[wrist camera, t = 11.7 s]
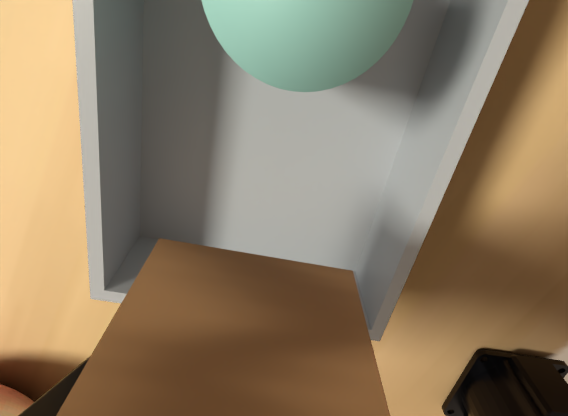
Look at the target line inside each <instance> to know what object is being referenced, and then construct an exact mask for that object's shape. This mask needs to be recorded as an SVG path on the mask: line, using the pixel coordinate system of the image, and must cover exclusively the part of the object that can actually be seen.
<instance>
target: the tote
mask: <svg viewBox="0 0 568 416" xmlns="http://www.w3.org/2000/svg"><path fill="white" fill-rule="evenodd" d="M72 1H73V17H74V34H75V50H76V67H77V83H78V99H79V116H80V132H81V149H82V165H83V182H84V198H85V215H86V231H87V248H88V264H89V280H90V297H91V299H95V300H102V301H108V302H115V303H122V301H123V300H124V298H125V296H126V295H127V293H128V291H129V289H130V288H131V286H132V284H133V282H134V281H135V279H136V277H137V276H138V274H139V272H140V270H141V269H142V267H143V265H144V263H145V262H146V260H147V258H148V257H149V255H150V253H151V251H152V250H153V248H154V246H155V245H156V243H157V241H158V239H159V238H161V239H167V240H173V241H179V242H185V243H191V244H197V245H203V246H209V247H215V248H221V249H227V250H233V251H239V252H245V253H251V254H257V255H263V256H269V257H275V258H280V259H286V260H292V261H298V262H304V263H310V264H316V265H322V266H328V267H334V268H340V269H346V270H352V271H353V273H354V277H355V281H356V285H357V289H358V293H359V297H360V301H361V305H362V308H363V312H364V316H365V320H366V324H367V328H368V332H369V336H370V340H375V341H380V340H381V337H382V335H383V333H384V330H385V328H386V326H387V324H388V321H389V319H390V317H391V314H392V312H393V310H394V308H395V305H396V303H397V301H398V298H399V296H400V294H401V292H402V289H403V287H404V285H405V282H406V280H407V278H408V276H409V273H410V271H411V269H412V266H413V264H414V262H415V260H416V257H417V255H418V253H419V250H420V248H421V246H422V244H423V241H424V239H425V237H426V234H427V232H428V230H429V228H430V225H431V223H432V221H433V218H434V216H435V214H436V212H437V209H438V207H439V205H440V202H441V200H442V198H443V196H444V193H445V191H446V189H447V186H448V184H449V182H450V180H451V177H452V175H453V173H454V170H455V168H456V166H457V164H458V161H459V159H460V157H461V154H462V152H463V150H464V148H465V145H466V143H467V141H468V138H469V136H470V134H471V132H472V129H473V127H474V125H475V123H476V120H477V118H478V116H479V113H480V111H481V109H482V107H483V104H484V102H485V100H486V97H487V95H488V93H489V91H490V88H491V86H492V84H493V81H494V79H495V77H496V75H497V72H498V70H499V68H500V65H501V63H502V61H503V59H504V56H505V54H506V52H507V49H508V47H509V45H510V43H511V40H512V38H513V36H514V33H515V31H516V29H517V27H518V24H519V22H520V20H521V17H522V15H523V13H524V11H525V8H526V6H527V4H528V1H529V0H413V3H412V6H411V10H410V12H409V15H408V17H407V19H406V21H405V24H404V26H403V28H402V29H401V31H400V33H399V35H398V36H397V38H396V40H395V41H394V42H393V44H392V45H391V46H390V48H389V49H388V51H387V52H386V53H385V54H384V55H383V56H382V57H381V58H380V59H379V60H378V61H377V62H376V63H375V64H374V65H373V66H372V67H370V68H369V69H368V70H367V71H366V72H364V73H363V74H361V75H360V76H358V77H357V78H355V79H353V80H351V81H349V82H347V83H345V84H343V85H340V86H337V87H334V88H331V89H327V90H322V91H316V92H294V91H288V90H283V89H279V88H276V87H273V86H271V85H268V84H266V83H264V82H262V81H260V80H258V79H256V78H254V77H253V76H252V75H250V74H249V73H247V72H246V71H244V70H243V69H242V68H241V67H240V66H239V65H238V64H237V63H235V62H234V61H233V59H232V58H231V57H230V56H229V55H228V54H227V52H226V51H225V50H224V49H223V47H222V46H221V44H220V43H219V41H218V40H217V38H216V36H215V34H214V32H213V30H212V29H211V27H210V25H209V22H208V19H207V17H206V14H205V12H204V8H203V4H202V1H201V0H72Z"/></svg>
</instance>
